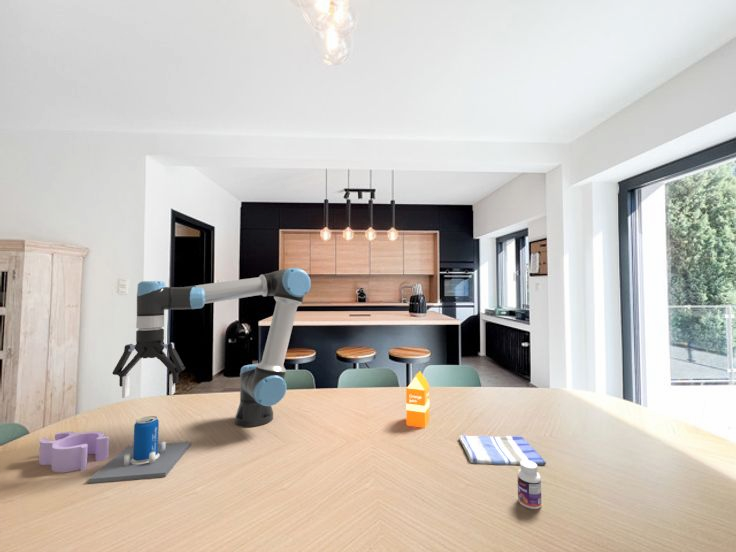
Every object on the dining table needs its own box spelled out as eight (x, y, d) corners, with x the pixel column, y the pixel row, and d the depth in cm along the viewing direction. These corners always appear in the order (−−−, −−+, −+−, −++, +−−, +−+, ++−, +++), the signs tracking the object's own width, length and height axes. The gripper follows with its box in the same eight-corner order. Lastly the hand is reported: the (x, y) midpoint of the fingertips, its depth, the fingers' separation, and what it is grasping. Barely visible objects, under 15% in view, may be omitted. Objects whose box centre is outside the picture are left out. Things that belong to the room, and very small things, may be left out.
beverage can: (145, 464, 100) (146, 424, 101) (127, 462, 102) (129, 422, 102) (162, 453, 107) (163, 416, 107) (146, 451, 108) (147, 414, 108)
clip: (24, 467, 101) (25, 444, 102) (69, 448, 113) (70, 428, 114) (74, 475, 97) (75, 451, 97) (116, 455, 109) (116, 433, 109)
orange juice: (406, 425, 132) (405, 374, 133) (411, 417, 140) (411, 369, 141) (425, 428, 129) (424, 376, 130) (430, 419, 137) (429, 371, 138)
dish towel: (457, 440, 120) (457, 432, 120) (524, 442, 118) (523, 434, 118) (468, 465, 102) (468, 456, 103) (546, 468, 101) (546, 458, 101)
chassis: (190, 445, 115) (191, 432, 116) (165, 476, 96) (165, 462, 96) (128, 449, 112) (128, 437, 112) (88, 483, 92) (88, 468, 93)
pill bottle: (513, 496, 86) (513, 458, 86) (533, 495, 86) (532, 458, 87) (525, 510, 81) (524, 470, 81) (546, 509, 81) (545, 469, 81)
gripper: (195, 326, 112) (195, 389, 111) (114, 328, 108) (112, 393, 107) (187, 328, 105) (186, 396, 104) (99, 331, 101) (98, 401, 100)
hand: (149, 395), depth 105 cm, fingers open, 13 cm apart
